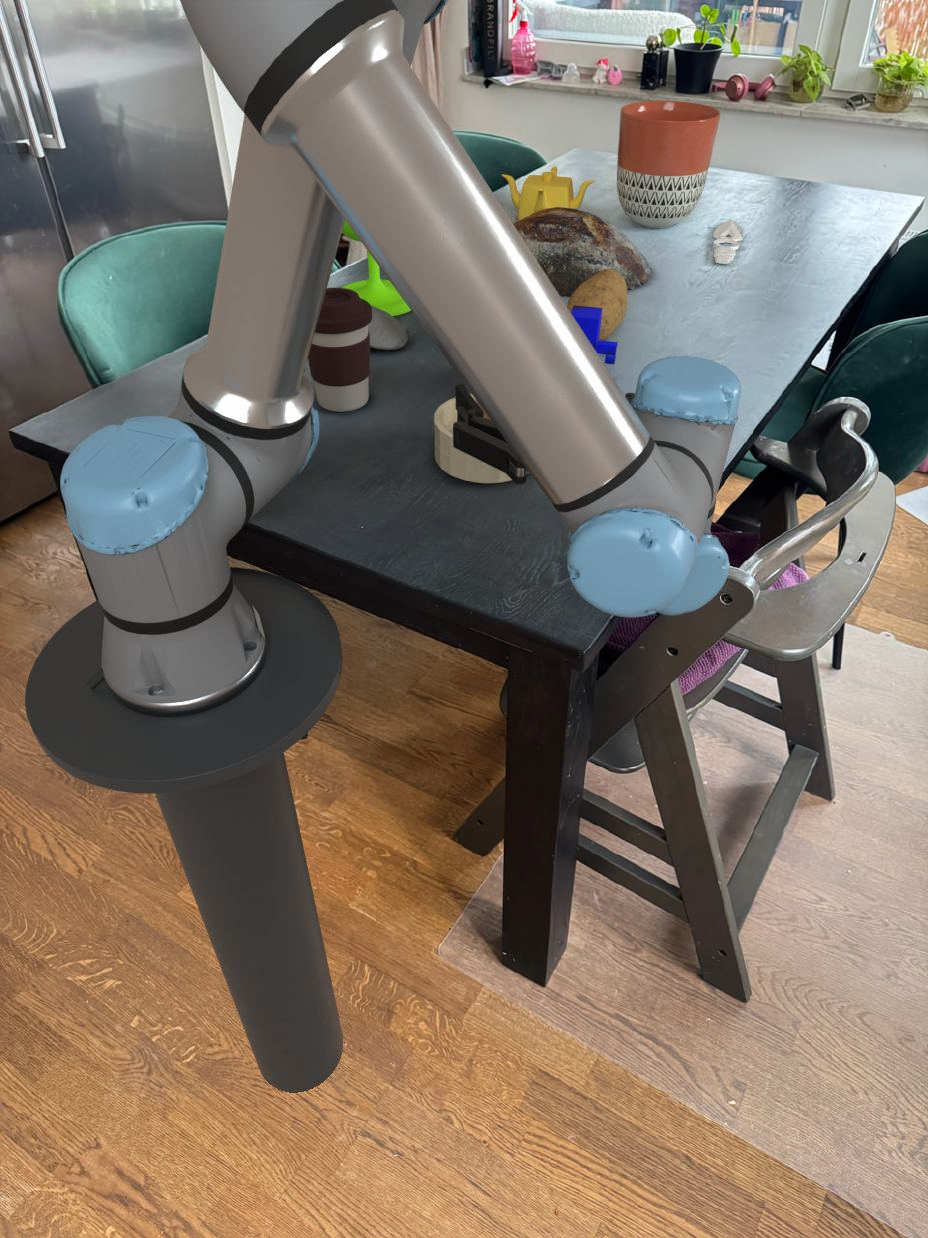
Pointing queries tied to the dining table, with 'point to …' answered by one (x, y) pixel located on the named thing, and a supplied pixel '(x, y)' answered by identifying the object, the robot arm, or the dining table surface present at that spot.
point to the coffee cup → (341, 351)
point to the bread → (580, 248)
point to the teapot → (545, 193)
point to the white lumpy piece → (723, 252)
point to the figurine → (594, 330)
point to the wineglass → (376, 285)
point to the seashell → (386, 331)
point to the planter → (664, 159)
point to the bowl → (454, 458)
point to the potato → (603, 299)
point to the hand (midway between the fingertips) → (517, 386)
